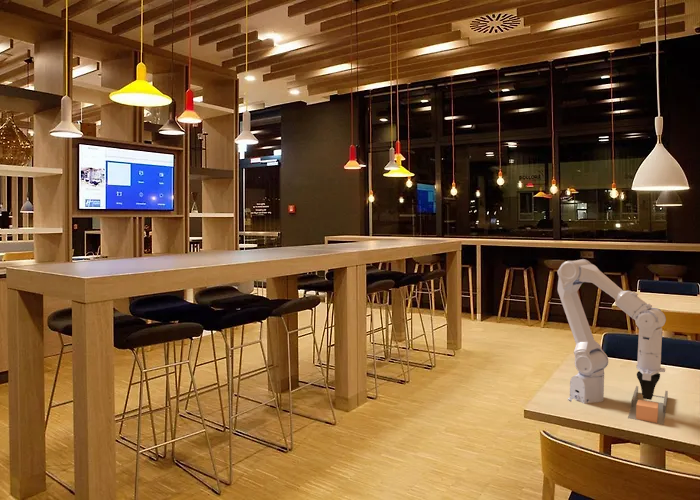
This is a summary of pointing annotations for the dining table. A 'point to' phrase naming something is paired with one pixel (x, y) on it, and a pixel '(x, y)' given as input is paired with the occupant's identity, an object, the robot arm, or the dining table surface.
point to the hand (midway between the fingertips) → (647, 398)
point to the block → (647, 411)
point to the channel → (660, 405)
